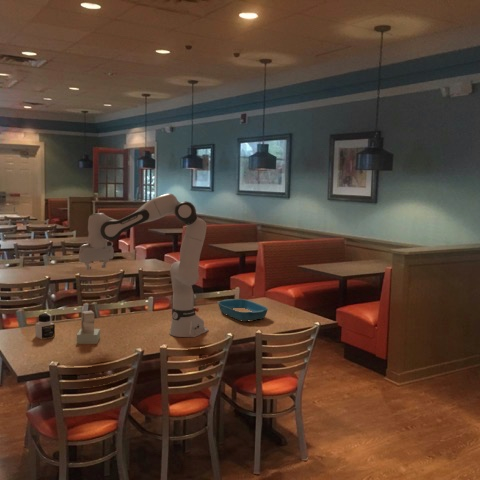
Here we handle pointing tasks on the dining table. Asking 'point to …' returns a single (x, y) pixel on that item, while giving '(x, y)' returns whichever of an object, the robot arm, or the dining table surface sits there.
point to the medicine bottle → (45, 327)
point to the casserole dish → (229, 304)
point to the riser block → (88, 337)
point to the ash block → (87, 322)
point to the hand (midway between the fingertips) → (96, 268)
